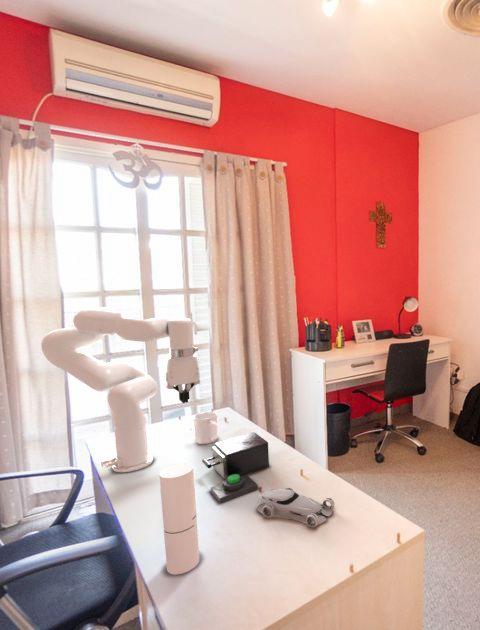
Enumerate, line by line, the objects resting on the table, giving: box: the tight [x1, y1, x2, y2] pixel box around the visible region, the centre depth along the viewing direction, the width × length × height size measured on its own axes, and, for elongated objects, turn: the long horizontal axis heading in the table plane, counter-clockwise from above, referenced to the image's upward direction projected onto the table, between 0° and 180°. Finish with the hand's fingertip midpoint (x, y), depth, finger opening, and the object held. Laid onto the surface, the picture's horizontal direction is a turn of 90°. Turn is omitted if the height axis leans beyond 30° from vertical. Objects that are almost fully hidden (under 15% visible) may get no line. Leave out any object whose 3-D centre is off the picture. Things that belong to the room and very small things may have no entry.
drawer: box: [201, 445, 227, 480], centre depth 150 cm, size 18×11×8 cm, turn 134°
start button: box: [228, 474, 240, 484], centre depth 138 cm, size 4×4×2 cm
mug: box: [193, 411, 220, 445], centre depth 175 cm, size 12×9×11 cm
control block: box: [210, 474, 259, 504], centre depth 138 cm, size 12×9×4 cm
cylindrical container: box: [158, 462, 200, 575], centre depth 103 cm, size 7×7×25 cm
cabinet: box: [214, 431, 270, 479], centre depth 153 cm, size 15×13×10 cm
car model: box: [256, 487, 336, 528], centre depth 127 cm, size 11×24×5 cm, turn 71°
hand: (184, 401), depth 151 cm, fingers closed
